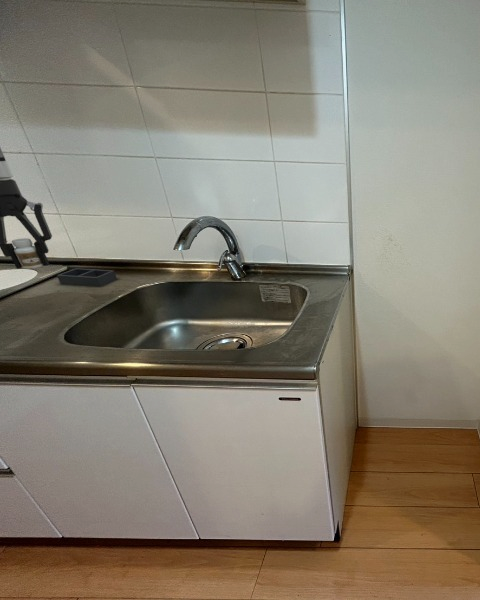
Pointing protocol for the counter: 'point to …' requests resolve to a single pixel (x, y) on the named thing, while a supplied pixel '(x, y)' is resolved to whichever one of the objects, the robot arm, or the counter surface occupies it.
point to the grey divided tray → (87, 277)
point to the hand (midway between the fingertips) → (33, 265)
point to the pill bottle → (27, 254)
